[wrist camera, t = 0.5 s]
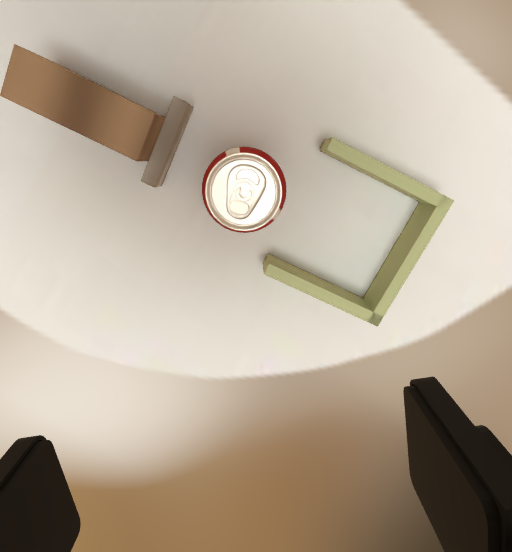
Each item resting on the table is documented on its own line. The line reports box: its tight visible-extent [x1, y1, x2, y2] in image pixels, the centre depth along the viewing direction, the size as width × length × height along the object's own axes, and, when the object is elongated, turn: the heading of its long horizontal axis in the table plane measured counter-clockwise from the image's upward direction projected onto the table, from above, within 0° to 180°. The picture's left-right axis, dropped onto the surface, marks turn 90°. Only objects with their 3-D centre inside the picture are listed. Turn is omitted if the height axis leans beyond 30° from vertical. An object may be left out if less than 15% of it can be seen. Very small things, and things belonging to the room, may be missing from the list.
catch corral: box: [263, 138, 454, 326], centre depth 35 cm, size 11×12×4 cm
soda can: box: [202, 147, 286, 233], centre depth 30 cm, size 5×5×12 cm
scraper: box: [0, 44, 193, 187], centre depth 31 cm, size 11×7×6 cm, turn 64°
